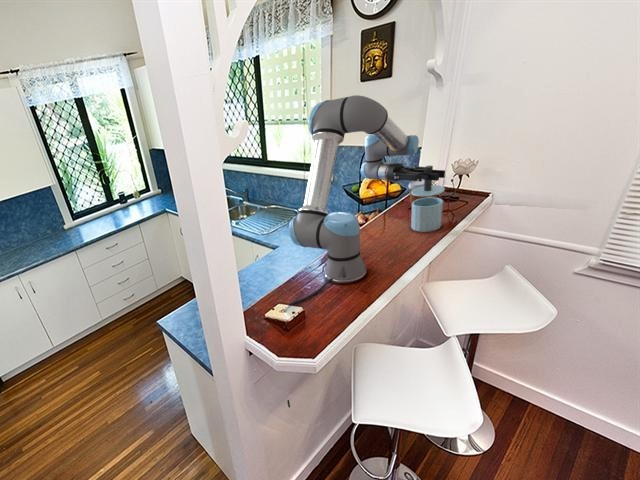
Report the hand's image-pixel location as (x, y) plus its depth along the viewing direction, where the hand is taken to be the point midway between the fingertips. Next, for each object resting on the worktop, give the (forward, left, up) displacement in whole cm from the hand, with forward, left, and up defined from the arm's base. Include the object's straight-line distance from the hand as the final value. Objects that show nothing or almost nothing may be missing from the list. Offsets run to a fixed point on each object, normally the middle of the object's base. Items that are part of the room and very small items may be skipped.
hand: (441, 175), depth 136 cm
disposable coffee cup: (+20, +24, -23) cm, 39 cm away
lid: (0, +5, -7) cm, 9 cm away
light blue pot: (0, +5, -23) cm, 24 cm away
